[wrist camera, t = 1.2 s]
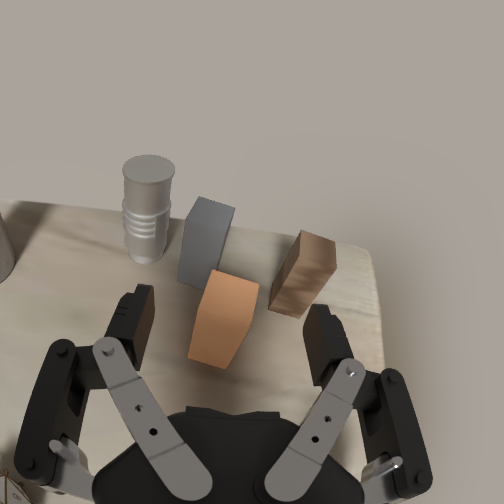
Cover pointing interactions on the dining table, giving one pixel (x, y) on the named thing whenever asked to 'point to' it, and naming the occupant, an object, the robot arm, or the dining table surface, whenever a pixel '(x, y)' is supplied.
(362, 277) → the dining table surface
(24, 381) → the dining table surface
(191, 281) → the grey block
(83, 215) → the dining table surface
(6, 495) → the game die
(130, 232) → the grey ribbed canister
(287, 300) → the walnut block
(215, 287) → the orange block
